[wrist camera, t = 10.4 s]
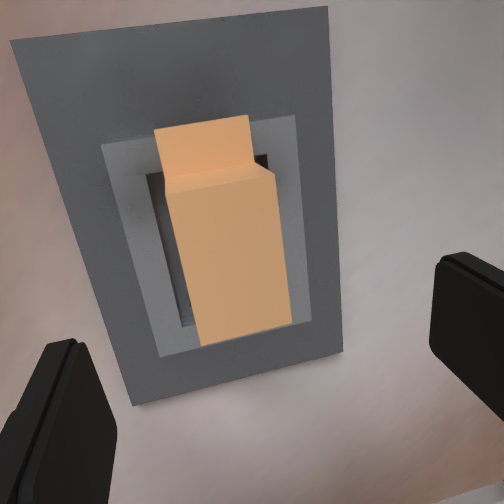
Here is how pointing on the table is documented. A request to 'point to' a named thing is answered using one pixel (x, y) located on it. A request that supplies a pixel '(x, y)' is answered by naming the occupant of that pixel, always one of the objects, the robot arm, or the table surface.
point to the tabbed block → (225, 228)
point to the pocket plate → (153, 181)
